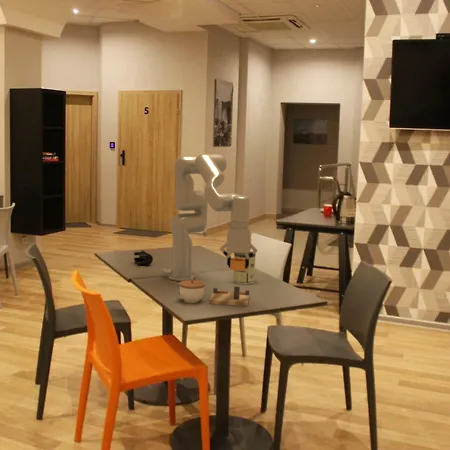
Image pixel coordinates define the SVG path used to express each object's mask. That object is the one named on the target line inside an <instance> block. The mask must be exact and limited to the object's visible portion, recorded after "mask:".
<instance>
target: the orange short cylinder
mask: <svg viewBox="0 0 450 450" xmlns="http://www.w3.org/2000/svg"><path fill="white" fill-rule="evenodd" d="M245 269H246V268H245V259H243V258H234V257H231V260H230V268H229V270H231V271H234V270H236V271H242V270H245Z"/></svg>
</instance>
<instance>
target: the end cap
mask: <svg viewBox="0 0 450 450" xmlns="http://www.w3.org/2000/svg"><path fill="white" fill-rule="evenodd" d="M133 254H134V256H138V257H134V258H133V263H136V264H137V265H136V264H135V265H136V266H138V265H139V266H145V267H149V266H151V264H153V261H154V257H153V256H152V254H150V253H149V252H146V251H145V250H142V249H141V250H140V251H135V252H133ZM139 266H138V267H139Z"/></svg>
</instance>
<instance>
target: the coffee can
mask: <svg viewBox="0 0 450 450" xmlns="http://www.w3.org/2000/svg"><path fill="white" fill-rule="evenodd" d="M251 252H252V251H250V252H249V254H250V253H251ZM256 253H257V252H256ZM256 253H255V254H254V255H253V256H252V257H251V258H250V259H249V266H247V269H245V270H242V271H236V270H233V283H234V284H235V283H236V284H239V285H251V284H254V283H255V273H256V272H255V271H256ZM233 254H234V255H233V258H243V259H246V255H245V253H233Z"/></svg>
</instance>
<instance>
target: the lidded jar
mask: <svg viewBox="0 0 450 450" xmlns="http://www.w3.org/2000/svg"><path fill="white" fill-rule="evenodd" d="M205 285H206V284H205V282H204V281H200V280H195V279H194V280H193V279H191V280H186V281H179V283H178V286H179V289H178V290H179V294H180V297H181V298H182V300H183V301H184V302H185V303H187V304H195V303H199V302H200V300H201V299H202V298H203V296H204V293H205Z"/></svg>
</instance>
